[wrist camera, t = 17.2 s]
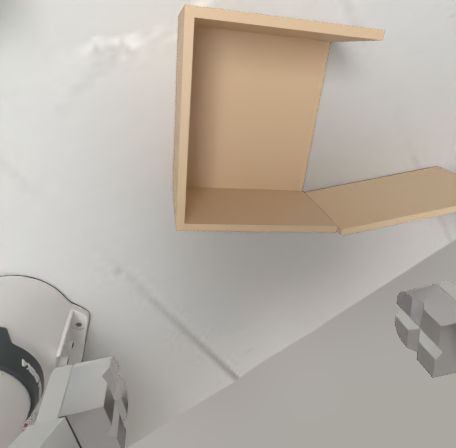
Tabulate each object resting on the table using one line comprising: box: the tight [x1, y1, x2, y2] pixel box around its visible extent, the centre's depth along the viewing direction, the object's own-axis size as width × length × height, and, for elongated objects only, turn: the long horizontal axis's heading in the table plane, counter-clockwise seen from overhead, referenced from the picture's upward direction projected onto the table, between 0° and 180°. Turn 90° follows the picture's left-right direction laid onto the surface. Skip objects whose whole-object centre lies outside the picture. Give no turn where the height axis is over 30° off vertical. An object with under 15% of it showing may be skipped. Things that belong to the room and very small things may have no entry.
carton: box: [173, 5, 385, 233], centre depth 40 cm, size 20×18×12 cm
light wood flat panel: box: [305, 166, 456, 236], centre depth 45 cm, size 20×2×17 cm, turn 98°
